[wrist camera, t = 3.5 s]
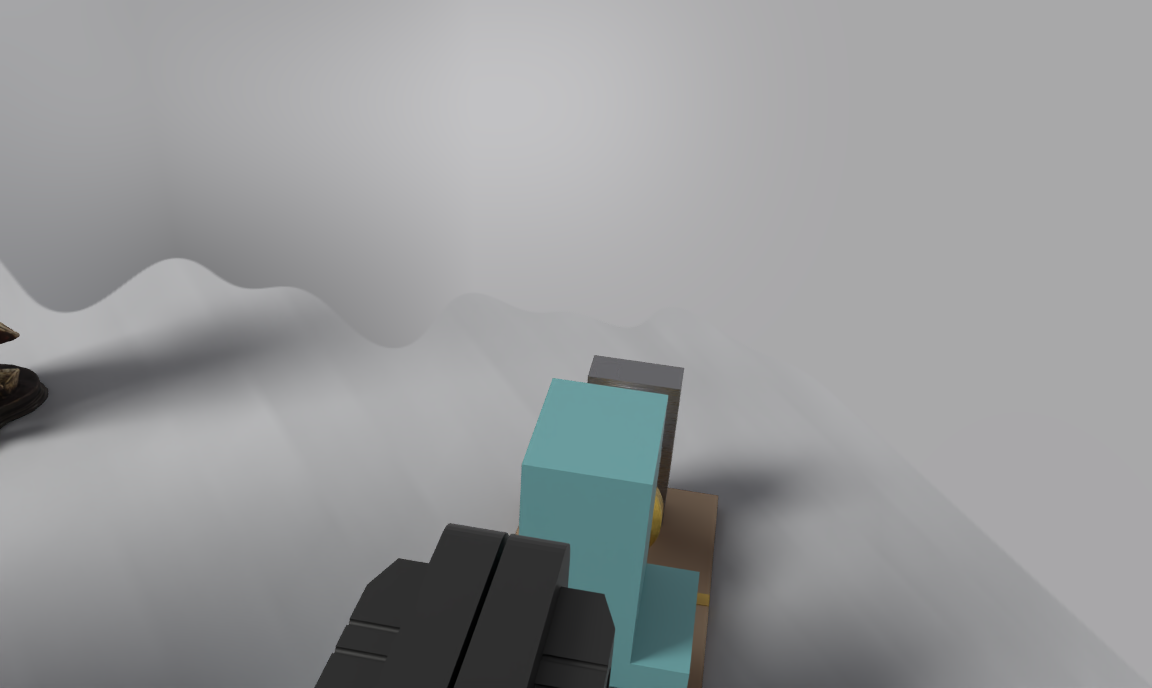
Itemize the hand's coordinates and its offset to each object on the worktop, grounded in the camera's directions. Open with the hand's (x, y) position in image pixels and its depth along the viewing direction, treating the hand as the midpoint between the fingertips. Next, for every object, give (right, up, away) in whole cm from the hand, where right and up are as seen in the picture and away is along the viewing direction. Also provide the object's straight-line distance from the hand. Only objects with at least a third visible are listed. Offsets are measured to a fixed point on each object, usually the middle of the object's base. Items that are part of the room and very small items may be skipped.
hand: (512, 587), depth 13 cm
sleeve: (+1, -11, +21) cm, 24 cm away
